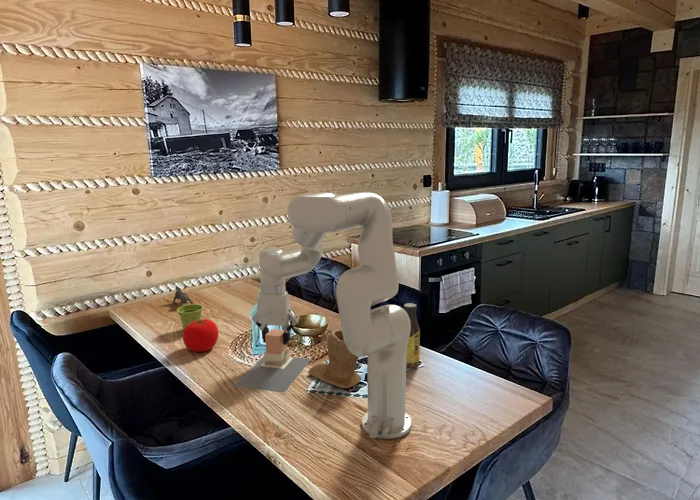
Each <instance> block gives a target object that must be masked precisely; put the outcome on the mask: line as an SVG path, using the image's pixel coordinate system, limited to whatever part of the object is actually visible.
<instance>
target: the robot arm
mask: <svg viewBox="0 0 700 500" xmlns="http://www.w3.org/2000/svg"><path fill="white" fill-rule="evenodd" d="M286 212H287V213H286V215H287V218H288V222H289V223H290V225H291V226H292V231H291V233H292V237H293V239H294V241H295V242H296V243H297V244H298V245H299V246H300V248H299V249H295V250H291V251H290V250H289V251H286V252H284V250H282V249H281V248H276V247H269V248H264V249H261V251H259V255H258V256H259V257H258V260H259V274H260V279H259V280H260V282H259V283H257V285H256V287H257V288H258V289H260V292H258V295H257V304H256V313H254V315H252V317H251V320H252V321H253V322H254V323H255V324H256V326H258V328H259V330H260V331H261V338H262V343H263V344H266V342H265V335H266V334H267V333H268V332H269V331H270V329H269V327H268V326H278V327H281V328H282V330H284V333H283V344H284V345H286V344H287V345H288V343H289V342H290V340H291V334H290V333H291V332H290V331H291V330H292V329H293V328H294V327H296V326H297V324H298V323H299V322H300V320H299V319H298V318H297V317H296V316H295V315H294V314H293V313H292V306H291V300H290V296H289V293H288V291H287V290H286V279H290V278H293V277H297V276H301V275H305V274H308V273H310V272H311V271H312V270H313V269H314V268H315V267H316V266H317V264H318V263H319V262H320V260H321V258H322V256H323V239H324V238H325V237H326V235H327V234H328V233H329V234H330V233H339V232H343V231H347V230H348V231H349V230H352V229H356V228H358V229H359V228H362V230H361V233H360V235H359V237H358V242H357V253H358V260H359V265H358V266H357V267H354V268H351V269H348V270H346V271H344V272H343V273H342V274H340V276H339V278H338V280H337V283H336V288H335V291H336V302H337V307H338V308H337V309H338V314H339V319H340V326H341V327H340V328H341V330H342V334H343V338H344V342H345V344H346V346H347V348H348V350H349V351H350V352H351V353H352V354H353V355H355V356H358V357H359V358H363V357H367V363H366V364H367V368H366V369H367V372H366V373H367V379H366V380H367V412H366V413H365V414H364V415H362V417H361V427H362V430H364V432H366V433H367V434H368V435H369V437H370V438H371V439H376V438H378V439H385V440H391V439H396V438H397V439H398V438H401V437H403V436H405V435H406V434H408V433H409V432H410V430H411V428H412V418H411V417H410V416H409V414H408V413H406V407H407V406H406V394H407V393H406V392H407V390H406V389H407V381H406V380H407V379H406V378H407V367H406V355H407V346H408V341H409V336H410V330H411V323H410V319H409V316H408V314H407V312H406V311H405V310H404V307H401V306H399V305H396V304H385V305H381V306H379V307H376V308H373V309H371V308H372V306H375V305H378V304H380V303H383V302H386V301H388V300H390V299H392V298H394V297H395V296H396V295H397V294H398V291H399V286H400V285H399V276H398V269H397V262H396V261H397V260H396V254H395V249H394V242H393V217H392V212H391V209H390V207H389V205H388V204H387V202H386V200H385V199H384V198H383V197H382V196H380V195H378V194H377V193H373V192H364V191H363V192H361V191H360V192H353V193H351V192H350V193H345V194H336V195H335V194H333V193H331V192H325V191H324V192H322V191H321V192H313V193H304V194H300V195H297V196H295V197H294V198H292V199H291V201H289V204H288V206H287V211H286ZM290 322H291V323H290Z"/></svg>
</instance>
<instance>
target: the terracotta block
mask: <svg viewBox="0 0 700 500" xmlns="http://www.w3.org/2000/svg"><path fill="white" fill-rule="evenodd" d="M283 333H284V330H283V329H276V328H275V329H274V328H271V329H269V332H268V333H267V334H266V335H265V352H266V353H273V354H282V353H283V352H284V351H285V350H286V349H287V347H288V343H287V344H286V345H284V344H283Z"/></svg>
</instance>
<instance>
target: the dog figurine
mask: <svg viewBox="0 0 700 500" xmlns="http://www.w3.org/2000/svg"><path fill="white" fill-rule="evenodd" d="M172 300H173V301H172V305H175V304H176V300H180V302H179V307H181V306H183V305H184V304H183V303H188V302H189V303H190V304H194V302H193V301H192V299H190V298H189V295H188V293H186V292H183V290H182V289H181V288H179V286H175V294H174V297H173V299H172Z"/></svg>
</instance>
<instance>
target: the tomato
mask: <svg viewBox="0 0 700 500" xmlns="http://www.w3.org/2000/svg"><path fill="white" fill-rule="evenodd" d="M218 339H219V328H218V326H217V325H216V323H215V322H214V321H213V320H211V319H207V318H206V319H205V318H201V320H196V321H193V322H191V323H190V324H188V325H187V326H186V327H185V329H183V333H182V340H183V344H184V345H185V347H186V348H187V349H188V350H190V351H192V352H195V353H196V352H197V353H200V352H201V353H202V352H206V351H210V350H211V349H212V348H214V347H215V346H216V344H217V343H218Z"/></svg>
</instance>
